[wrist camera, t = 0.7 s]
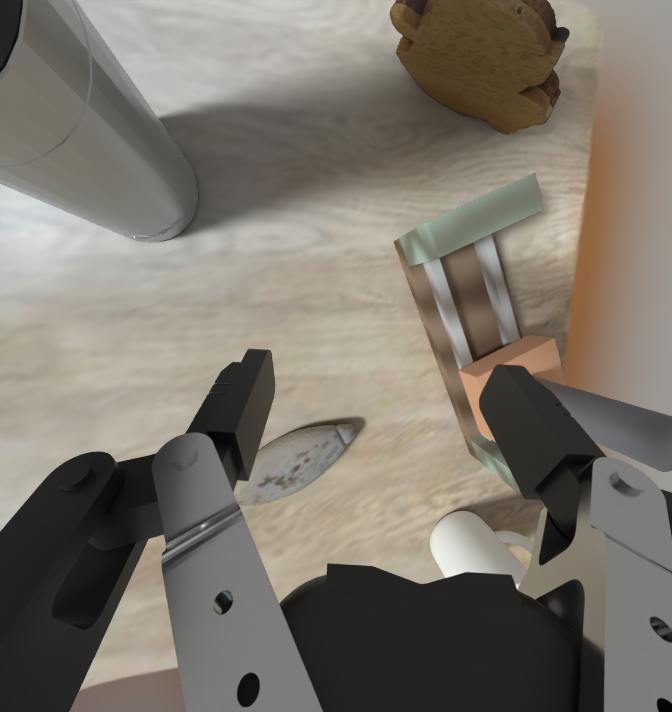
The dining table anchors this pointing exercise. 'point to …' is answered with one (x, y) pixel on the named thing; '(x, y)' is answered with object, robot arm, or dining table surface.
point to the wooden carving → (484, 56)
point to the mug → (476, 547)
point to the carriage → (578, 403)
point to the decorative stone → (293, 463)
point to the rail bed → (468, 295)
